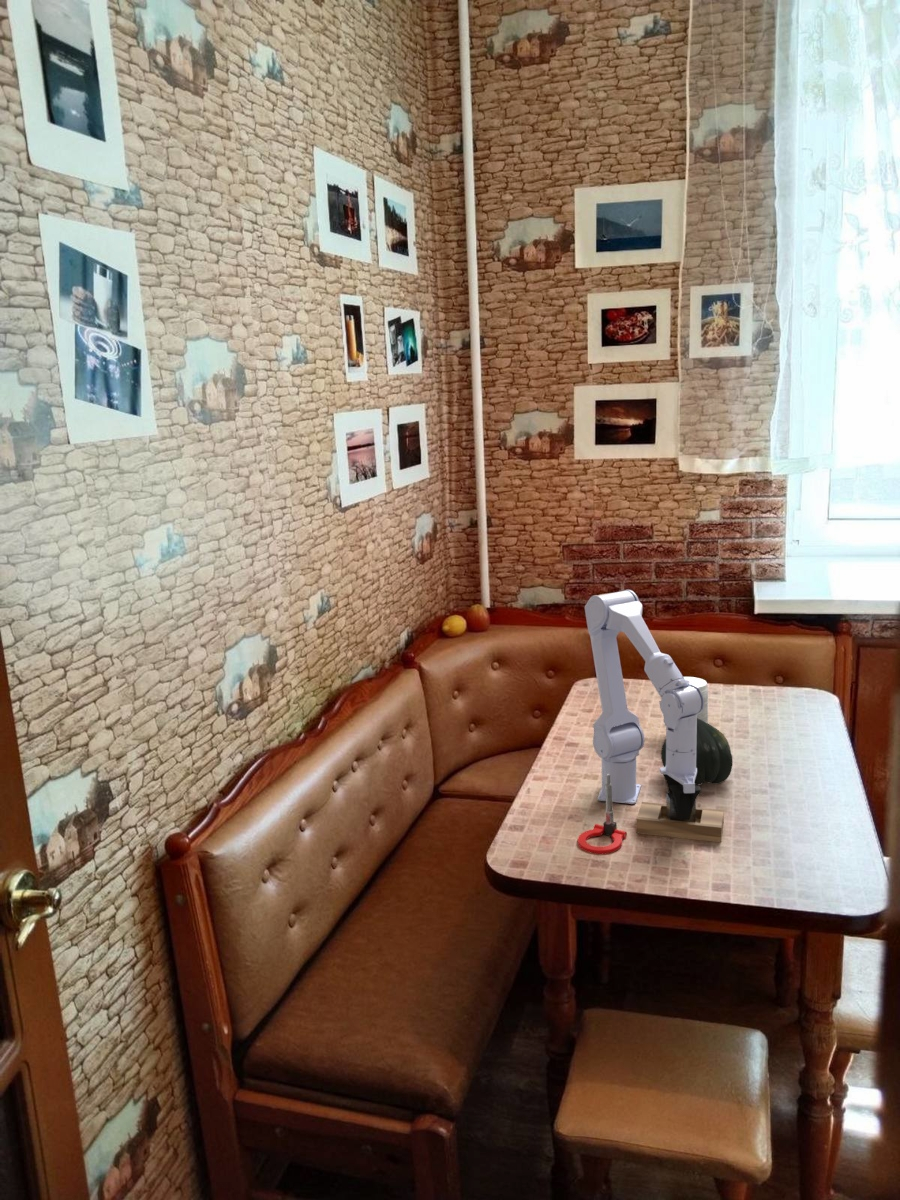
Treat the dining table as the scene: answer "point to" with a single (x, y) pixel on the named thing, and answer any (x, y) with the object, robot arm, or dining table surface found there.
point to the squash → (709, 755)
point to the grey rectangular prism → (671, 809)
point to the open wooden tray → (680, 823)
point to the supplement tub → (704, 690)
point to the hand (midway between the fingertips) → (680, 812)
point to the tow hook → (604, 828)
